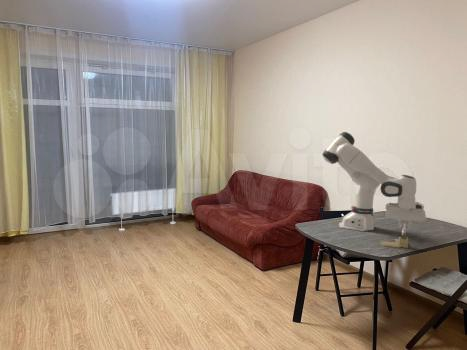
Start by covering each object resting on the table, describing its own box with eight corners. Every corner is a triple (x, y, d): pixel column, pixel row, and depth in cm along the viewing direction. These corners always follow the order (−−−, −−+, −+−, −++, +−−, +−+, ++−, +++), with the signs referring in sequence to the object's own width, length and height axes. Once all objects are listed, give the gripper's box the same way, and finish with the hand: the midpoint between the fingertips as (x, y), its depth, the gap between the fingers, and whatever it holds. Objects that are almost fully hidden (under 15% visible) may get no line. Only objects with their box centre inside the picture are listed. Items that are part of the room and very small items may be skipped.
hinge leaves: (382, 245, 199) (382, 237, 198) (380, 238, 212) (381, 230, 211) (409, 248, 194) (410, 240, 193) (406, 241, 207) (406, 233, 207)
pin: (401, 235, 196) (403, 221, 195) (401, 234, 198) (402, 220, 197) (405, 235, 196) (406, 222, 195) (405, 234, 197) (406, 221, 196)
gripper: (386, 203, 195) (384, 227, 197) (427, 206, 188) (425, 231, 190) (385, 201, 201) (383, 224, 203) (425, 204, 194) (423, 228, 196)
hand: (404, 227), depth 196 cm, fingers closed on pin, 2 cm apart
